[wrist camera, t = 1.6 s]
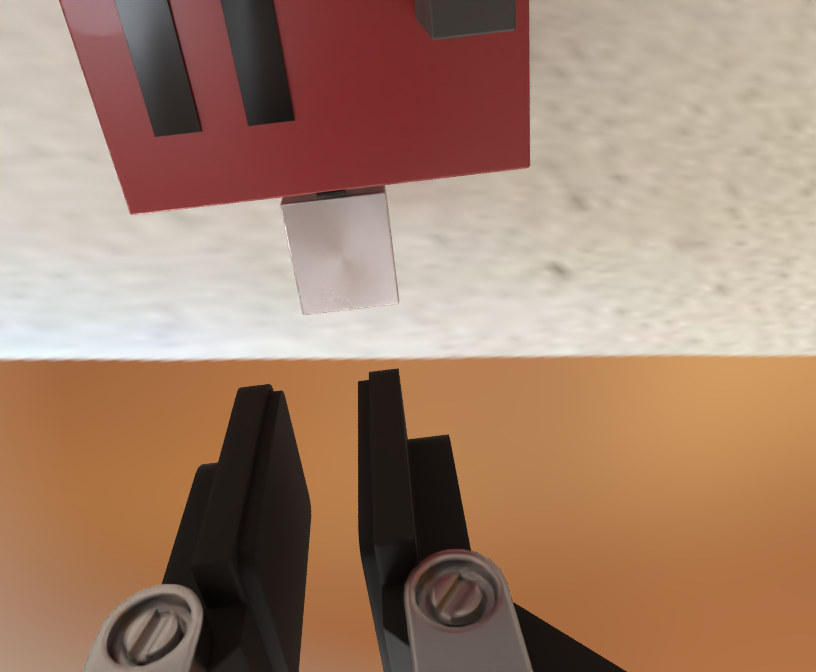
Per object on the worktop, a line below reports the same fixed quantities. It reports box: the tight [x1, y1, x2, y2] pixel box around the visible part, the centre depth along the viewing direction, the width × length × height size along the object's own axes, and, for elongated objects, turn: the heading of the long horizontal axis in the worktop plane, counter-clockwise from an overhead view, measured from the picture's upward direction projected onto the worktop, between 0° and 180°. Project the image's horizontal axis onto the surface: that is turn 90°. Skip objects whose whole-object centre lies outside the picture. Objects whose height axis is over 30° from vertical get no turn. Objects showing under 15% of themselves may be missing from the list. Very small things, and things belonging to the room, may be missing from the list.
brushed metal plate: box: [280, 185, 399, 315], centre depth 20 cm, size 4×3×1 cm
